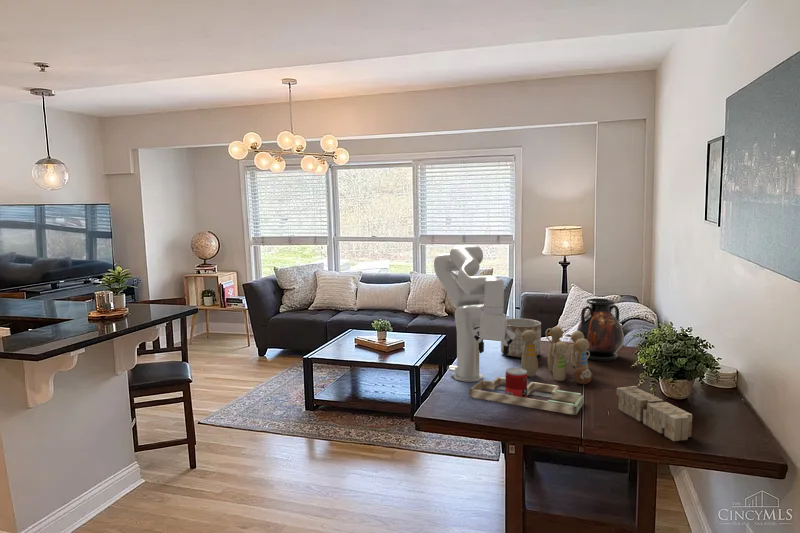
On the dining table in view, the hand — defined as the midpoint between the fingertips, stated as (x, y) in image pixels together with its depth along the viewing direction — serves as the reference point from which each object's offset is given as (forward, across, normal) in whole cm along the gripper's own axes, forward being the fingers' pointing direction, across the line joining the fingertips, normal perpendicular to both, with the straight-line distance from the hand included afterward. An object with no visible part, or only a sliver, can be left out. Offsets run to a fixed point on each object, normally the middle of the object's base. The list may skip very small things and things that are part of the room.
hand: (493, 353), depth 207 cm
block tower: (+17, +57, -2) cm, 59 cm away
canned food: (+16, +9, 0) cm, 19 cm away
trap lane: (+16, +13, +3) cm, 21 cm away
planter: (+17, -7, +61) cm, 64 cm away
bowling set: (+17, +15, +39) cm, 45 cm away
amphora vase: (+17, +28, +74) cm, 81 cm away
